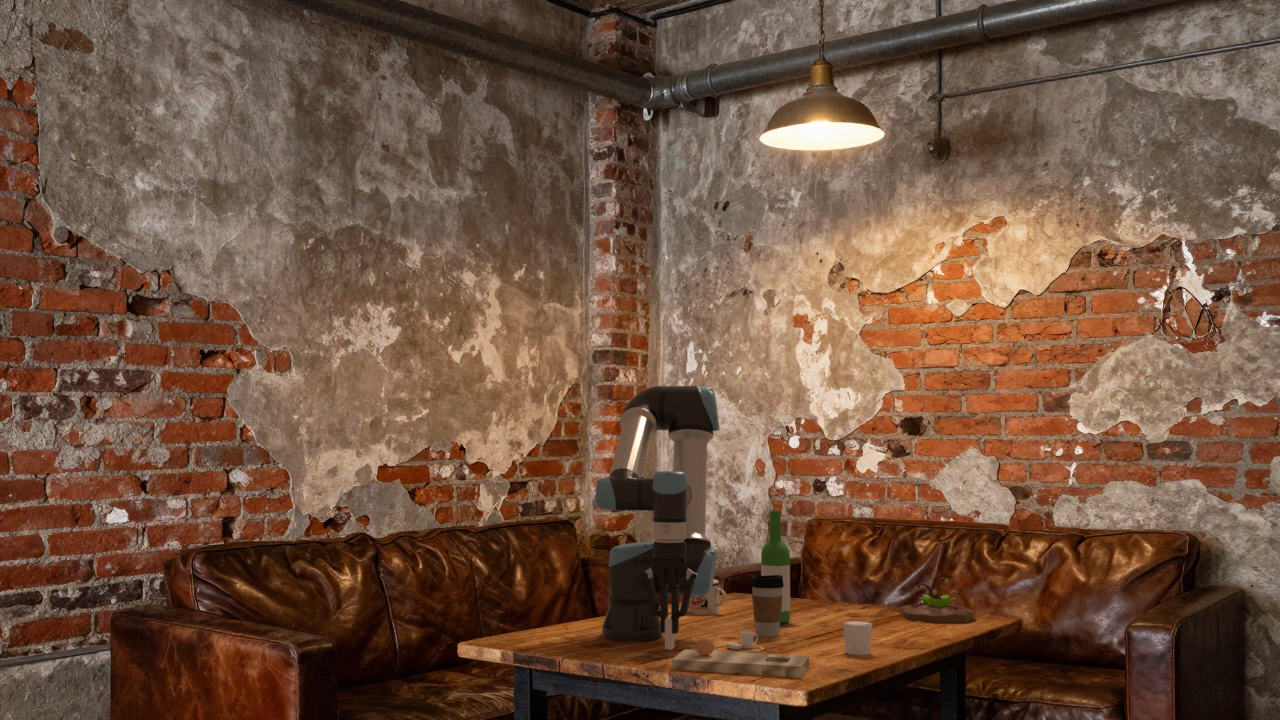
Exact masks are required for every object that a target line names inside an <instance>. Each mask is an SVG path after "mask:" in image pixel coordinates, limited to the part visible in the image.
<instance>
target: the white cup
mask: <svg viewBox="0 0 1280 720" xmlns="http://www.w3.org/2000/svg"><path fill="white" fill-rule="evenodd" d="M842 627H843V639H844V640H843V641H844V647H845V648H844V649H845V653H846V654H847V655H853V656H867V655H870V654H871V645H872V635H873V634H872V633H873V623H872V622H871V621H864V620H848V621H847V620H846V621H844V622H842Z"/></svg>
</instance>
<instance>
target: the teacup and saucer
mask: <svg viewBox="0 0 1280 720" xmlns="http://www.w3.org/2000/svg"><path fill="white" fill-rule="evenodd" d="M739 635H740V643H737V642H730V641H729V642H726V648H728V649H731V650H741V649H747V650H748V649H752V648H753V647H754V646H756V647H760V649H759V651H761V650H763V649H765V648H764V647H763V646H762V645H761V646H760V645H757V642H758V639H759V636H758V635H757V634H756V633H755V632H753V631H740V634H739ZM755 636H756V639H755V641H754V637H755ZM753 651H756V652H757V651H758V649H757V650H753Z"/></svg>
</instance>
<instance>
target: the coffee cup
mask: <svg viewBox="0 0 1280 720" xmlns="http://www.w3.org/2000/svg"><path fill="white" fill-rule="evenodd" d="M783 585H784V583H783V576H782V575H769V576H761V575H755V576H754V575H753V576H752V577H751V581H750V587H751V588H752V589H751V591H752V594H751V597H752V600H751V601H752V606H753V607H752V608H753V618H754V627H755V628H754V630H755V632H754V633H755V634H757V635H758V637H765V638H772V637H773V638H774V637H779V636H780V628H781V627H780V626H781V625H780V624H781V623H780V617H781V606H782V587H784V586H783ZM757 635H756V636H757Z"/></svg>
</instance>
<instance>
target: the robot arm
mask: <svg viewBox="0 0 1280 720" xmlns="http://www.w3.org/2000/svg"><path fill="white" fill-rule="evenodd" d="M719 420H720V419H719V411H718V405H717V397H716V394H715V390H714V388H713V387H711V386H708V385H707V386H704V385H703V386H702V385H697V384H695V385H677V386H676V385H655V386H650V387H649V388H646V389H644V390H642V391H640V392H638V393H637V394H635V396H633V397H632V398H631V399H630V400H629V401H628V402H627V403H626V405H625V407H624V408H623V410H622V411H621V415H620V418H619V426H620V429H621V431H620V434H619V437H618V442H617V446H616V448H615V452H614V455H613V461H612V465H611V468H610V471H609V475H608V476H606V477H601V478H599V479H598V480H597V482H596V485H595V502H596V506H597V508H598V509H600V510H602V511H603V510H606V511H614V512H615V511H645V512H646V511H649V512H652V514H653V515H652V517H653V518H652V538H653V539H654V540H655V541H653V540H651V541H650V540H649V541H638V542H629V543H624V544H620V545H617V546H616V545H615V546H614V547H612V548H611V549H610V552H609V560H608V561H609V562H608V566H607V567H608V572H609V573H608V590H609V591H608V608H607V611H606V614H605V618H604V620H603V623H602V627H601V637H602V638H603V637H604V639H605V638H607V639H606V640H609V639H611V640H610V641H616V640H618V641H617V642H646V641H647V642H648V641H649V642H650V641H655V640H658V639H661V638H663V634H664V650H673V649H674V648H675V634H676V635H677V634H678V633H679V631H680V629H679V627H680V622H679V621H680V618H682V617H684V616H687V614H688V607H689V603H690V598H691V596H695V595H706V594H708V593H709V592H710V590H711V588H712V585H713V580H714V579H715V574H716V568H717V567H716V565H717V556H718V555H717V550H716V549H715V548H714V547H712V544H711V543H712V542H711V540H710V539H709V538H708V537H707V535H706V512H707V510H706V505H707V502H706V501H707V469H708V468H707V467H708V466H707V462H708V443H709V442H711V440H712V439H713V438H714V432H717V431H719V429H720V421H719ZM656 431H668V438H669V439H670V440H671V441H672V442H673V460H672V461H673V463H672V464H673V466H672V470H665V471H664V470H663V471H661V470H660V471H655V472H654V473H653V477H647V478H646V477H642V476H643V471H644V466H645V461H646V457H647V454H648V453H647V452H648V447H649V445H650V444H649V443H650V440H651V436H652V435H654V433H655V432H656ZM658 596H659V599H658ZM669 596H671V601H670V604H671V606H670V607H671V609H670V610H671V612H670V613H671V616H669ZM680 596H683V597H682V600H681V603H680ZM680 604H681V605H680ZM668 616H669V617H668Z"/></svg>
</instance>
